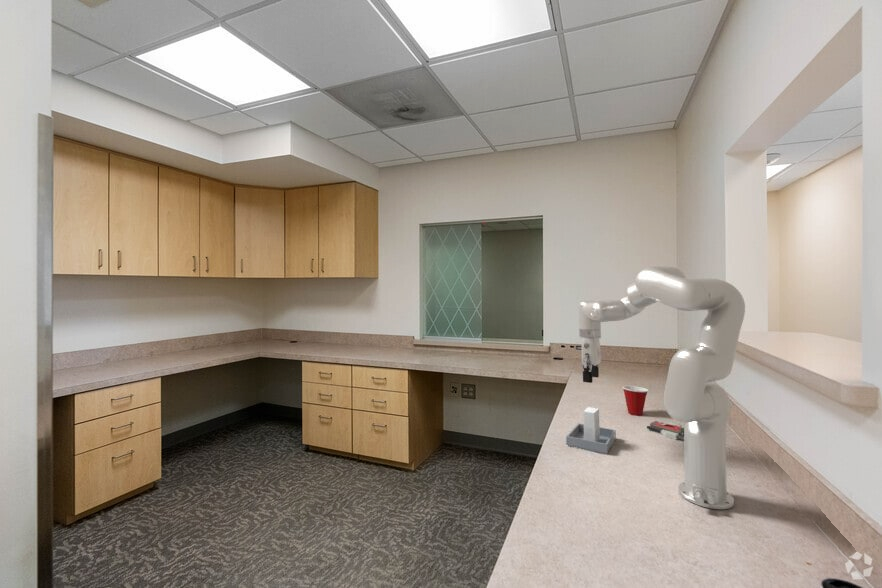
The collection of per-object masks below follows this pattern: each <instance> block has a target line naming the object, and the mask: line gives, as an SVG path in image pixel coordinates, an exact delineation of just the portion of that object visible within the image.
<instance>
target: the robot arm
mask: <svg viewBox="0 0 882 588" xmlns="http://www.w3.org/2000/svg"><path fill="white" fill-rule="evenodd" d="M625 294H626V296H624V297H622V298H620V299H615V300H614V299H612V300H610V299H609V300H584V301H582V300H581V301H580V302H579V303H578V331H579V332H578V333H579V339H581V364H582V381H583V383H589V384H590V383H591V384H593V378H599V370H600V369H599V364H600V363H601V362H602V357H601V356H602V355H601V343H600V342H601V341H600V339H601V338H602V331H601V330H602V329H601V327H602V326H601V324H602V323H607V322H620V321H624V320H627V319H629V318H632V317H635V316H637V315H639V314H640V313H642V312H643V311H644V310H645V309H646V308H647V307H649V306H650V305H653V304H655V303H658V302H659V303H661V304H662V305H663V304H664V305H665V306H668V307H670V308H673V309H676V310H678V311H684V312H692V311H693V312H695V311H707V314H706V316H705V318H704V320H702V323H701V325H700V328H699V331H698V335H697V336H698V337H697V340H696V343H695V345H694V346H688V347H685V348H682V349H679V350H678V351H677V352H675V354H673V355H672V358H671V360H670V362H669V367H668V371H667V377H666V382H665V387H664V392H663V405H664V409H665V411H666V413H667V414H668V415H669V417H670V418H671V419H673V420H675V421H676V422H679V423H683V424H684V427H683V428H684V440H683V444H684V445H683V447H684V448H683V450H684V451H683V452H684V455H683V456H684V457H683V458H684V466H683V468H684V481H683V482H681V483H679V485H678V493H679V494H680V496H681V497H682V498H683V499H685V500H687V501H688V502H690V503H692V504H695V505H697V506H700V507H703V508H706V509H711V510H727V509H728V510H729V509H731V508H733V506H735V498H734V497H733V496H732V494H730V493H729V492H728V490H727V489H728V487H727V486H728V485H727V482H728V480H727V476H728V475H727V473H728V472H727V431H728V429H727V427H728V420H729V415H730V410H731V409H730V408H731V400H730V397H729V395H728V393H727V390H725V389H724V388H723V387H722V386H720V385H719V384H717V383H715V382H717V381H721V380H724V379H726V378H727V377H729V376H730V375H731V372H732V370H733V365H734V362H735V357H736V353H737V347H738V344H739V338H740V333H741V329H742V327H743V323H744V319H745V315H746V314H745V313H746V303H745V300H744V297H743V295H742V293H741V292H740V291H739V289H737V287H736V286H734V285H733V284H731V283H729V282H727V281H725V280H721V279H719V278H718V279H717V278H687V277H686V275H685V274H684V272H683V271H682V270H681V269H680V268H679V269H678V268H677V267H675V266H674V267H673V266H648V267H645V268H643V269H641V270H640V271H639V272H638V273H637V274H636V277H635V281H634V282H633V283H631V284H629V285H628V286H627V287H626V292H625Z"/></svg>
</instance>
